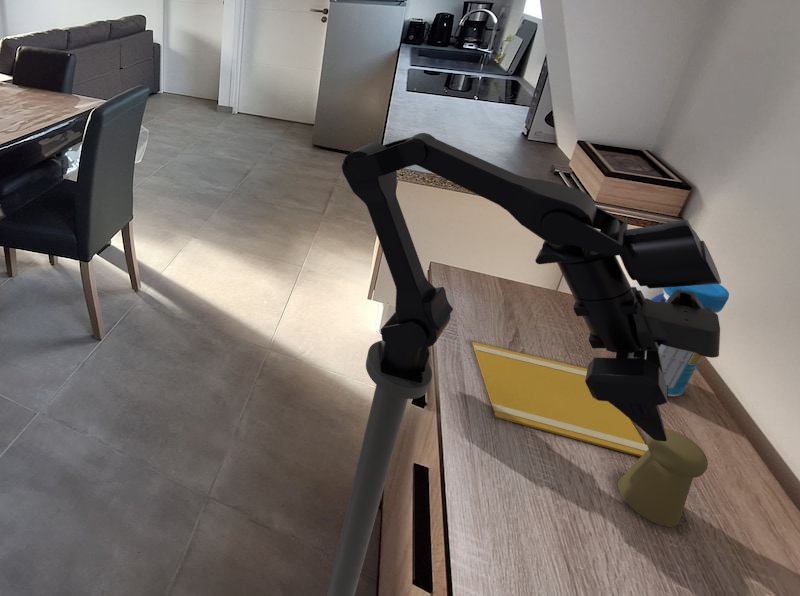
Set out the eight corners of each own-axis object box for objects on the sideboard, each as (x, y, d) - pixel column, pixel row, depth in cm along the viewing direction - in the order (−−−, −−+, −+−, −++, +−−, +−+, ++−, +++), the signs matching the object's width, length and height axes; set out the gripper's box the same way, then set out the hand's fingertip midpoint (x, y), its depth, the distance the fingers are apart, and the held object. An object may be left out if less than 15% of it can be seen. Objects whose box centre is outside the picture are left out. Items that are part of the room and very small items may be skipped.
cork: (662, 486, 61) (697, 428, 57) (691, 535, 56) (731, 475, 52) (608, 470, 63) (638, 413, 59) (631, 516, 58) (666, 456, 54)
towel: (495, 417, 70) (496, 414, 70) (472, 343, 84) (472, 341, 84) (653, 460, 64) (655, 458, 64) (600, 373, 79) (601, 371, 79)
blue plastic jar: (631, 389, 76) (680, 292, 69) (609, 352, 83) (651, 261, 76) (695, 406, 73) (754, 307, 66) (666, 367, 81) (716, 274, 74)
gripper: (697, 326, 43) (778, 488, 41) (689, 250, 55) (752, 372, 54) (558, 329, 51) (622, 464, 50) (579, 262, 63) (631, 368, 62)
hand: (660, 414), depth 54 cm, fingers open, 9 cm apart
